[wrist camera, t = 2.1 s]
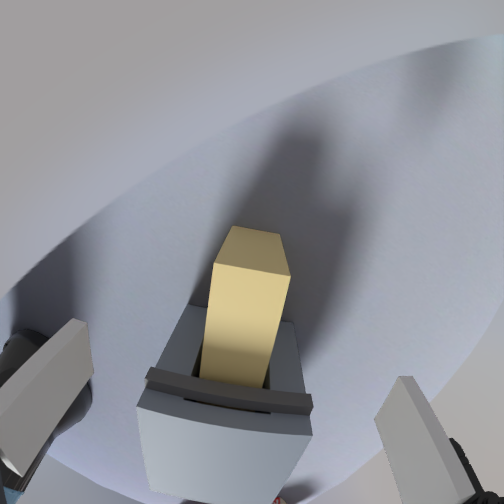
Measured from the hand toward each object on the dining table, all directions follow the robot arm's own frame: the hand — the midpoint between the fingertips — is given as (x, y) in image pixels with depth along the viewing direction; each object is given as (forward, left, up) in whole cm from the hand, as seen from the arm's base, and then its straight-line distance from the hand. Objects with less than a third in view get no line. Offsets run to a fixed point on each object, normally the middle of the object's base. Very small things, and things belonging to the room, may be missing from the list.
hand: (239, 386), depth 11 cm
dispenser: (0, -11, -15) cm, 19 cm away
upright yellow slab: (0, -4, -16) cm, 16 cm away
